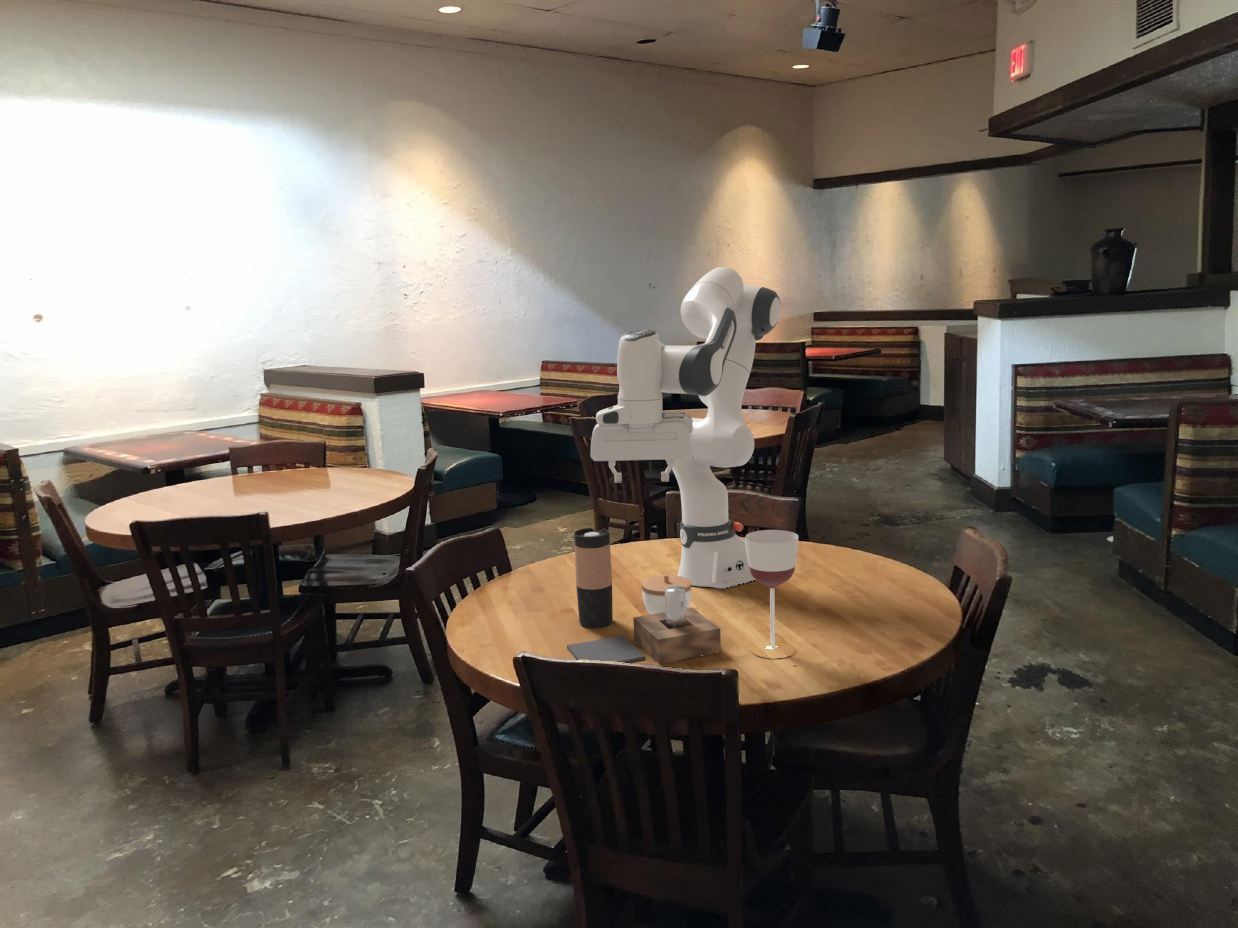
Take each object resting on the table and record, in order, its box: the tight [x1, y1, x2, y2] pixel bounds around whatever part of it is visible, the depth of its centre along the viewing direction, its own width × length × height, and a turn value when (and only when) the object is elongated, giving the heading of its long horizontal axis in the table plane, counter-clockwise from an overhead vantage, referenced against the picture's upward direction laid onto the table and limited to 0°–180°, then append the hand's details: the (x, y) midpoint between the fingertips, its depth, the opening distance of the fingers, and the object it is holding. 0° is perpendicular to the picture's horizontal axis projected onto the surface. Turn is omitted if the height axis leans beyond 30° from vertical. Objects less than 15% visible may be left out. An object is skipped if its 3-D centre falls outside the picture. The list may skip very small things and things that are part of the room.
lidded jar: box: [641, 574, 693, 615], centre depth 201 cm, size 11×11×9 cm
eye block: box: [632, 607, 722, 665], centre depth 185 cm, size 13×13×5 cm
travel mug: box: [573, 527, 614, 629], centre depth 199 cm, size 8×8×20 cm
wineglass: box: [744, 529, 799, 650], centre depth 179 cm, size 9×10×23 cm
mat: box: [566, 634, 646, 663], centre depth 184 cm, size 12×12×1 cm
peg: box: [665, 586, 686, 629], centre depth 184 cm, size 4×4×12 cm
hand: (641, 481), depth 187 cm, fingers open, 8 cm apart
